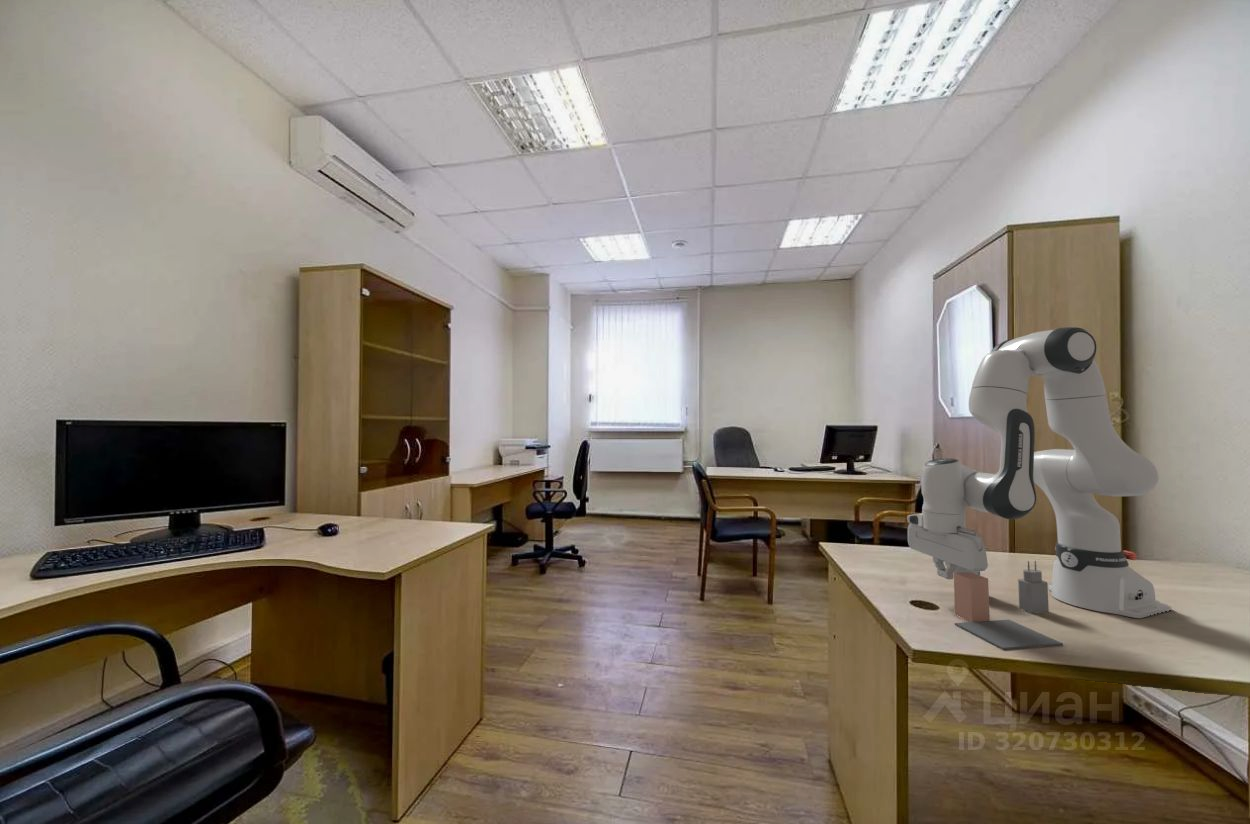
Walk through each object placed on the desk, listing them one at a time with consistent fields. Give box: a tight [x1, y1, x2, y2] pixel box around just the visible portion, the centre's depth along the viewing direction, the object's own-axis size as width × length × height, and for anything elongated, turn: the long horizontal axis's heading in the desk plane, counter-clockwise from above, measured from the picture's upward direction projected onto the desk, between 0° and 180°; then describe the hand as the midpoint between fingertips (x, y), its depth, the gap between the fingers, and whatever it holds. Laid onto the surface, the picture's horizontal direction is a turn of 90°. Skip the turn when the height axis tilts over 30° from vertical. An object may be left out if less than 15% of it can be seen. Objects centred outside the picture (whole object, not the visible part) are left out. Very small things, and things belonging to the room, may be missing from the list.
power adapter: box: [1017, 560, 1050, 614], centre depth 105 cm, size 3×5×12 cm, turn 96°
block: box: [953, 572, 991, 622], centre depth 101 cm, size 4×4×10 cm
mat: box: [954, 619, 1064, 651], centre depth 93 cm, size 14×11×1 cm
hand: (945, 577), depth 108 cm, fingers closed
